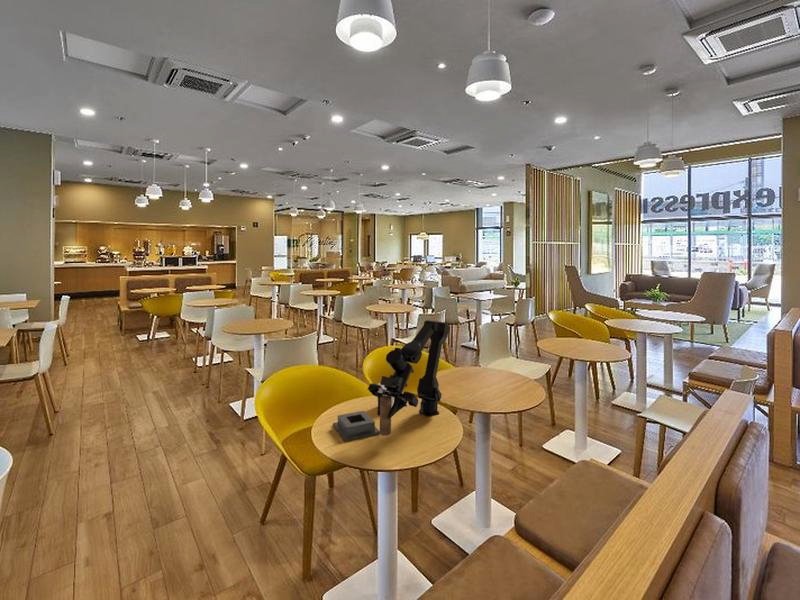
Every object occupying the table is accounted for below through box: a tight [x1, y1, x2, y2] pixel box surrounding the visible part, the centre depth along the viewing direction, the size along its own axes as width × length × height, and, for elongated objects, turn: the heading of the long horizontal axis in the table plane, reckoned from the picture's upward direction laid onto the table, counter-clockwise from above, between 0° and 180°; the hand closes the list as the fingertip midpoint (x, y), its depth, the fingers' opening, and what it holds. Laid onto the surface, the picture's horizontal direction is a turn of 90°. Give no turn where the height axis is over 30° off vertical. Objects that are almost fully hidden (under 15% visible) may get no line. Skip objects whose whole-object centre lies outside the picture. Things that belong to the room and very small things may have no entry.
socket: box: [332, 410, 381, 442], centre depth 158 cm, size 14×14×4 cm
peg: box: [379, 396, 392, 437], centre depth 145 cm, size 4×4×13 cm
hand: (383, 416), depth 144 cm, fingers closed on peg, 4 cm apart
